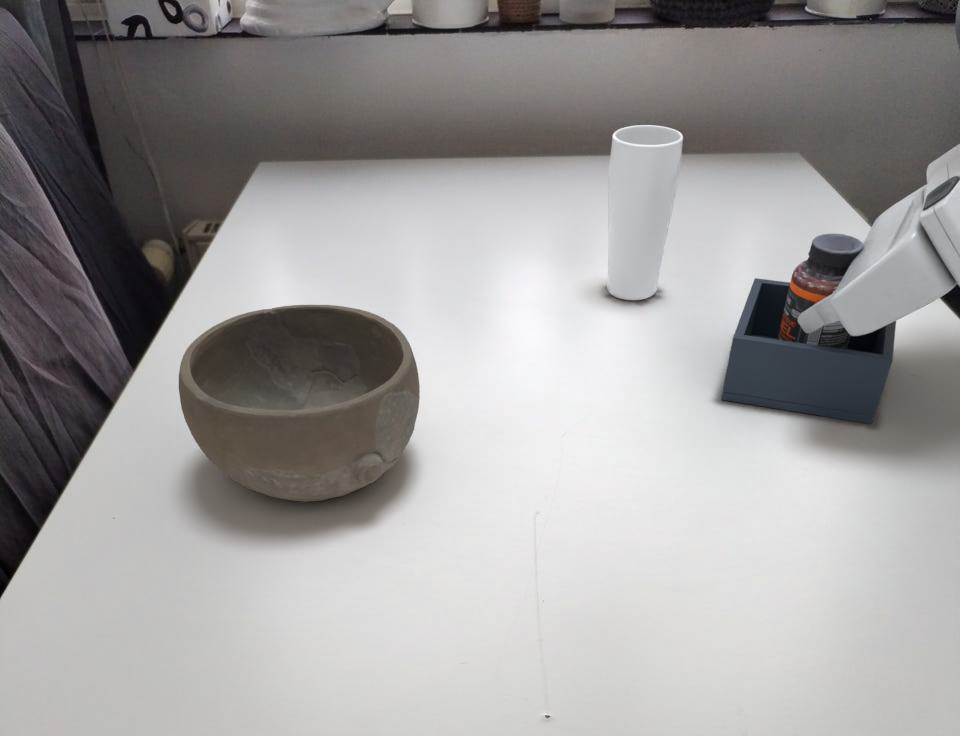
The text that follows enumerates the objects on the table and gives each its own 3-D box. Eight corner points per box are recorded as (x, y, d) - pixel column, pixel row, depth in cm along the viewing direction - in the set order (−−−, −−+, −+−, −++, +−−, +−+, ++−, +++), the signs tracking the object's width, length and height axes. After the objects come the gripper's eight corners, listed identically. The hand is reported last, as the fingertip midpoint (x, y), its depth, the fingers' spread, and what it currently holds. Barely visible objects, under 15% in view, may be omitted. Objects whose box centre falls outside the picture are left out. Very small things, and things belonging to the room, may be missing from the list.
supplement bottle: (761, 356, 82) (789, 229, 74) (824, 352, 82) (858, 225, 74) (784, 389, 78) (816, 258, 70) (850, 384, 78) (889, 253, 70)
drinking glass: (646, 274, 97) (664, 121, 87) (675, 299, 93) (697, 141, 82) (589, 284, 96) (600, 129, 85) (615, 309, 91) (630, 149, 81)
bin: (742, 337, 87) (754, 277, 82) (879, 356, 83) (898, 295, 79) (721, 400, 78) (732, 337, 74) (871, 424, 75) (892, 360, 71)
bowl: (437, 517, 67) (429, 397, 60) (196, 545, 65) (159, 424, 58) (412, 401, 79) (403, 290, 72) (208, 422, 77) (179, 310, 70)
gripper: (974, 128, 72) (820, 234, 82) (938, 210, 59) (761, 323, 69) (1012, 195, 73) (857, 290, 83) (985, 289, 60) (805, 388, 71)
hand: (813, 306), depth 76 cm, fingers closed on supplement bottle, 6 cm apart
